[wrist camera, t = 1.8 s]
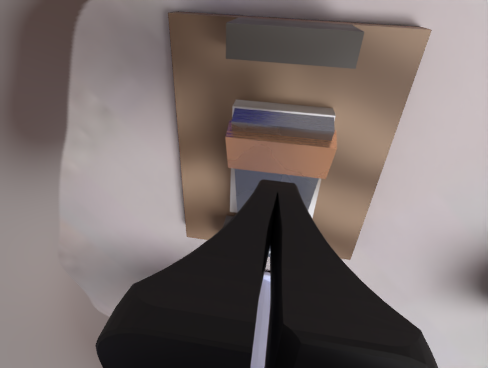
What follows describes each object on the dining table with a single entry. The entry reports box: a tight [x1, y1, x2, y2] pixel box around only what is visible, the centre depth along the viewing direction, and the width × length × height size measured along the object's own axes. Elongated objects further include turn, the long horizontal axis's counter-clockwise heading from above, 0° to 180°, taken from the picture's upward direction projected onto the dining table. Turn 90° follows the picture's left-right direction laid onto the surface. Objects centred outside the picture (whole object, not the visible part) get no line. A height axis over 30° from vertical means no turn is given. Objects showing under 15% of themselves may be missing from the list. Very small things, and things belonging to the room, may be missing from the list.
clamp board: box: [168, 12, 431, 260], centre depth 20 cm, size 17×14×5 cm
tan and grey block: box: [225, 108, 337, 257], centre depth 17 cm, size 14×4×1 cm, turn 179°
